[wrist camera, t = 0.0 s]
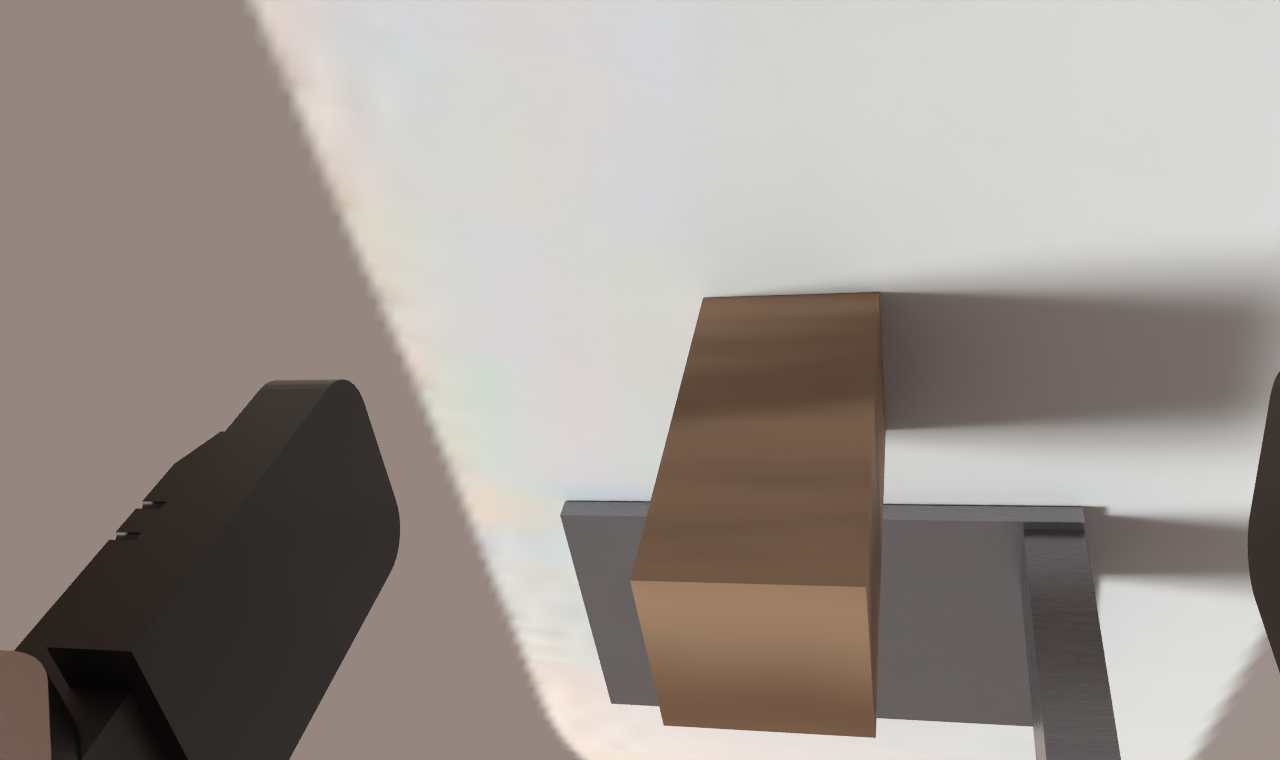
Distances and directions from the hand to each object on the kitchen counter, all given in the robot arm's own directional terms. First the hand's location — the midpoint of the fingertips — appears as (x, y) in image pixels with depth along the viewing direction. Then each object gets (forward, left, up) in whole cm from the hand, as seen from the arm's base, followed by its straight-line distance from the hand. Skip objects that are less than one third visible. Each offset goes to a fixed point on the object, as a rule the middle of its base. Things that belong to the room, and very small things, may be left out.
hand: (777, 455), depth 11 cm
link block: (+12, -2, -17) cm, 21 cm away
